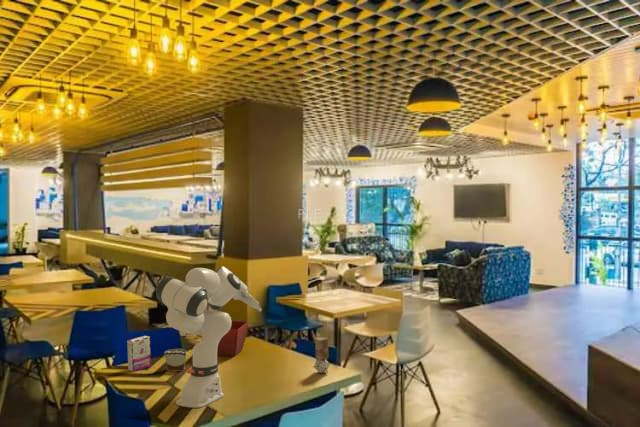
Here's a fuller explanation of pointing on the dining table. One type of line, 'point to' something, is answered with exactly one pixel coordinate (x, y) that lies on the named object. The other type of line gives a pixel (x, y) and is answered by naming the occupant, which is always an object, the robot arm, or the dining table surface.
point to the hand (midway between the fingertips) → (258, 308)
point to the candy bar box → (139, 353)
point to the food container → (175, 359)
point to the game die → (321, 365)
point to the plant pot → (233, 339)
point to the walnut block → (321, 348)
